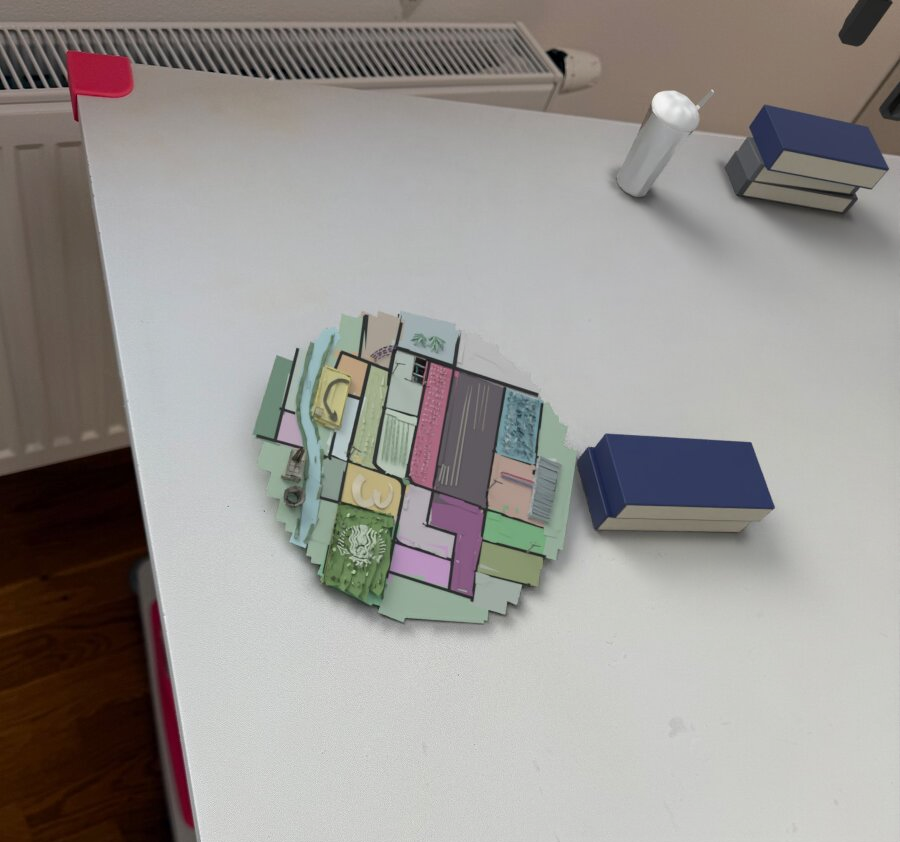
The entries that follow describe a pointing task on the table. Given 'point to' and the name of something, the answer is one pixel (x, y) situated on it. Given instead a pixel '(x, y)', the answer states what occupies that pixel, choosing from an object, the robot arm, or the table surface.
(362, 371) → the city model
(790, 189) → the grey stack
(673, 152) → the milkshake
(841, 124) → the navy book
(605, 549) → the table surface
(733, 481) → the navy stack
